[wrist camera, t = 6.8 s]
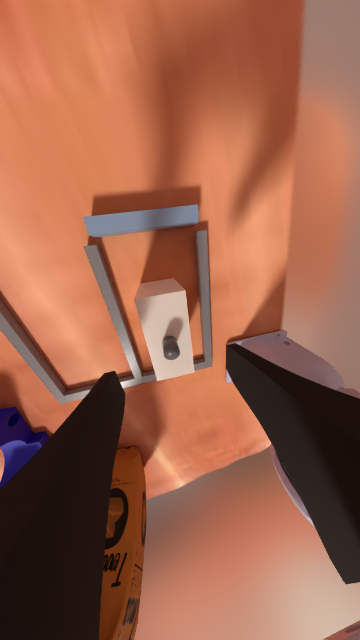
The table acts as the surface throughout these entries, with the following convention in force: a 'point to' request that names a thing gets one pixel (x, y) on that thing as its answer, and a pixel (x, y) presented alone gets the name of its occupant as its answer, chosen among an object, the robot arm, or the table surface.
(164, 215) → the blue-grey bar
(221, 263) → the table surface
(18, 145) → the table surface
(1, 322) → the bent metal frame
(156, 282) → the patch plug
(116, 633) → the coffee package
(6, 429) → the cable clip
